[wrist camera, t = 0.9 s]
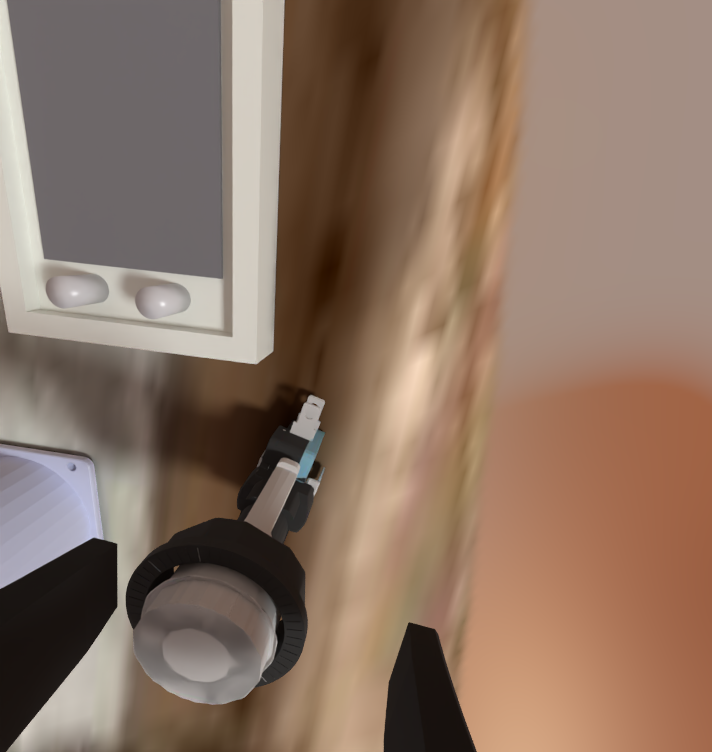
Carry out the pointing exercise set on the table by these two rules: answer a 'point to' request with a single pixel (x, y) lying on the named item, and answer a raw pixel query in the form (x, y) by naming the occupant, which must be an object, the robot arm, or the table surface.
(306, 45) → the table surface
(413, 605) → the table surface
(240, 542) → the push button
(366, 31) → the table surface
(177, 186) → the pin tray
